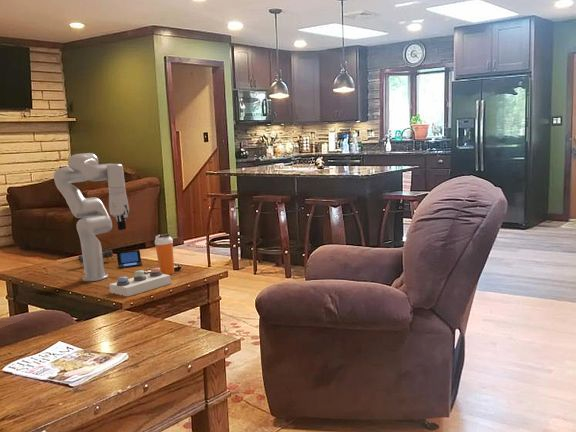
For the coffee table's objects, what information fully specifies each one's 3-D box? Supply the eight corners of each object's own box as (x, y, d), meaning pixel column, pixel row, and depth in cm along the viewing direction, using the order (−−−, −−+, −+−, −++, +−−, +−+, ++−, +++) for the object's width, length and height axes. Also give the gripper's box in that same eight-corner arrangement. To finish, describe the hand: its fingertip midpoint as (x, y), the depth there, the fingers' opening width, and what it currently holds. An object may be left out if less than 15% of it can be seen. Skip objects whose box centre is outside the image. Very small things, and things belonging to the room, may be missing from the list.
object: (119, 269, 326) (117, 256, 325) (118, 265, 337) (116, 252, 336) (142, 266, 330) (141, 252, 329) (141, 262, 340) (139, 249, 339)
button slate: (116, 281, 274) (115, 278, 274) (124, 279, 277) (124, 275, 277) (121, 282, 271) (121, 279, 271) (129, 280, 274) (129, 277, 274)
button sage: (132, 275, 280) (132, 271, 280) (140, 273, 284) (140, 269, 283) (138, 276, 277) (137, 272, 277) (146, 274, 281) (145, 270, 280)
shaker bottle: (174, 274, 302) (169, 235, 299) (156, 276, 303) (152, 236, 300) (177, 270, 311) (173, 232, 308) (160, 271, 312) (156, 233, 309)
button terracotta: (149, 272, 287) (148, 269, 287) (156, 270, 290) (156, 267, 290) (154, 273, 284) (154, 270, 284) (162, 271, 287) (162, 268, 287)
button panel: (110, 292, 277) (108, 281, 277) (153, 280, 295) (152, 269, 294) (127, 296, 268) (126, 285, 267) (171, 283, 286) (170, 272, 285)
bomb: (111, 240, 350) (58, 249, 332) (118, 250, 343) (65, 260, 325) (110, 255, 355) (58, 265, 337) (117, 265, 349) (64, 276, 331)
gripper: (101, 191, 284) (106, 230, 286) (119, 192, 274) (124, 231, 276) (115, 189, 289) (120, 227, 292) (133, 189, 279) (138, 229, 282)
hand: (122, 229), depth 284 cm, fingers closed
